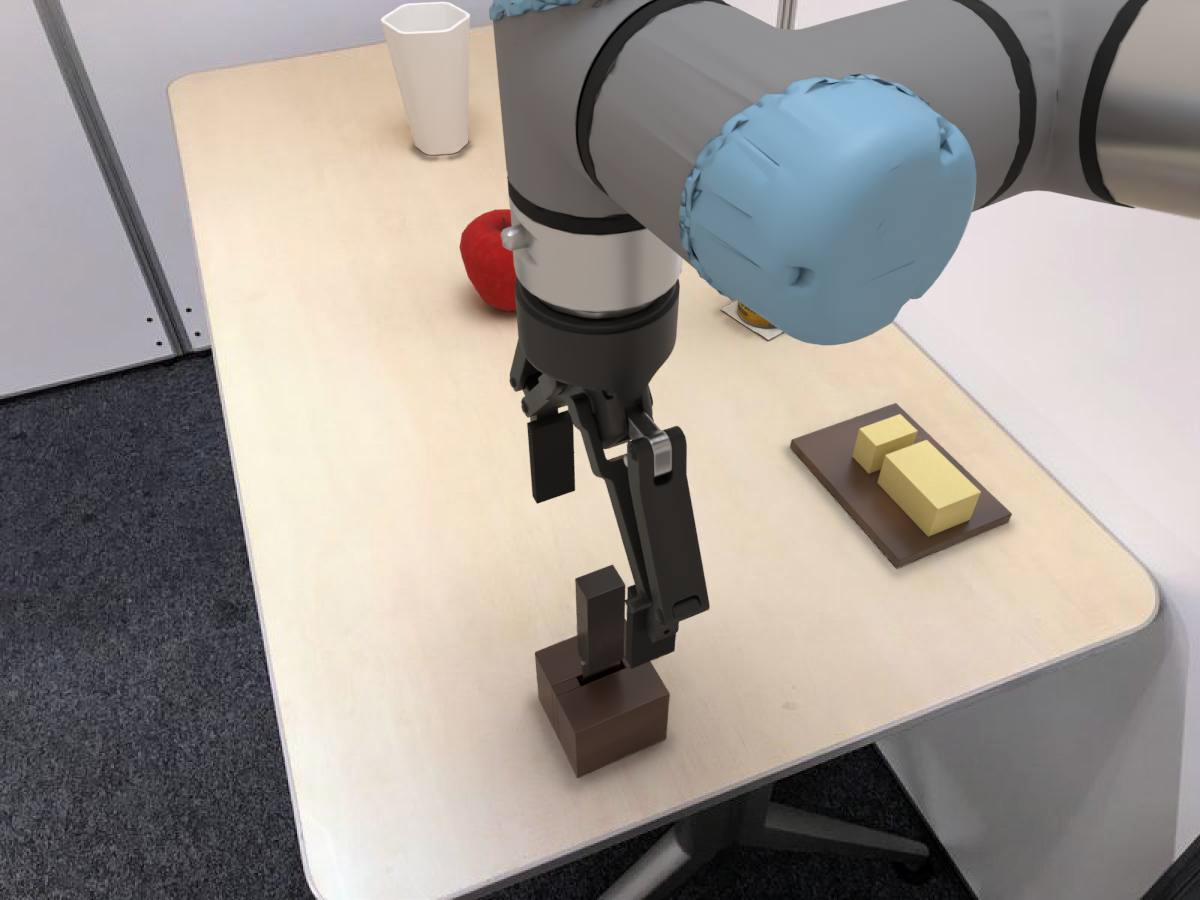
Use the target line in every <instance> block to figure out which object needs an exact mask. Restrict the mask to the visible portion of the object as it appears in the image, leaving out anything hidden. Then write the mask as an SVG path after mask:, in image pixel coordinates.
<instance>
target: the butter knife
mask: <svg viewBox="0 0 1200 900" xmlns="http://www.w3.org/2000/svg"><path fill="white" fill-rule="evenodd" d="M574 581H575V582H574V583H575V584H574V585H575V607H576V608H575V609H576V612H575V613H576V633H577V634H576V636H577V640H578V654H579V655H580V657H581V659H582V662H581V673H582V686H583V685H586V684H588V683H591V682H593V681H596V680H598V679H600V678H603V677H605V676H608V675H610V674H613V673H615V672H617V671H620V660H622V659H624V629H625V619H626V603H625V600H626V583H625V582H624V580H623V579H622V577H621V575H620V573H619V572H618V570H617V568H616V567H615V566H614V564H610V565H607V566H605V567H602V568H599V569H597V570H594V571H591V572H589V573H586V574H584V575H581V576H578V577H575V579H574Z"/></svg>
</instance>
